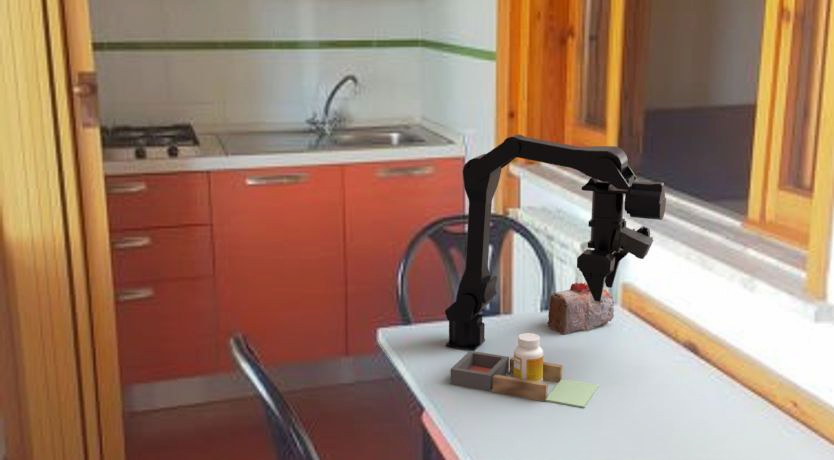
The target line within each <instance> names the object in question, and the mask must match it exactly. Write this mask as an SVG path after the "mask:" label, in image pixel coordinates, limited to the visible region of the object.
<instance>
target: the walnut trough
mask: <svg viewBox="0 0 834 460" xmlns="http://www.w3.org/2000/svg"><path fill="white" fill-rule="evenodd" d="M509 375H514V356H511V357H509ZM561 379H563V364H557V363H551V362H546V361H543V381H545V380H546V381H551V382H557V383H559V382H560V381H561ZM492 393H497V394H502V395H507V396H512V397H519V398H523V399H524V398H525V399H529V400H536V401H540V402H541V401H542V402H547V401H546V399H547V397H548V396H549V394H548V393H549V383H548V382H537V381H531V380H525V379H520V378H514V376H513V377H512V376H506V375H505V376H502V375H496V374H495V375H494V376H493V389H492Z"/></svg>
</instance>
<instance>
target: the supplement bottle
mask: <svg viewBox="0 0 834 460" xmlns="http://www.w3.org/2000/svg"><path fill="white" fill-rule="evenodd" d="M540 345H541V337H540V336H539V335H538V334H537V333H536V334H535V333H530V332H529V333H528V332H527V333H521V334H519V335H518V336H517V346H515V348H514V350H513V357H514V374H513V377H514V378H520V379H525V380H531V381H537V382H543V381H544V379H543V362H544V349H543V348H542V347H541V346H540ZM543 383H544V382H543Z"/></svg>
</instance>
